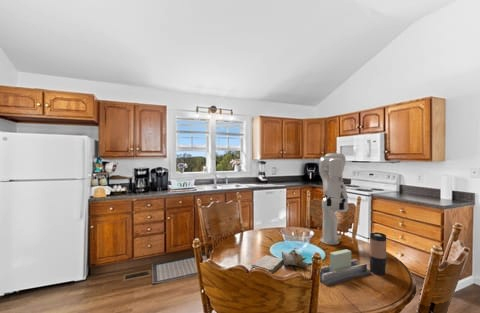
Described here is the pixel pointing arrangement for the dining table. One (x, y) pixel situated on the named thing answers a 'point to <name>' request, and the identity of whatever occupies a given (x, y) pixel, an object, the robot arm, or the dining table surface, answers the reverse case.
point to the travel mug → (378, 253)
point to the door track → (343, 273)
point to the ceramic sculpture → (294, 259)
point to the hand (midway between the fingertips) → (335, 207)
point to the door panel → (340, 260)
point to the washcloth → (268, 263)
